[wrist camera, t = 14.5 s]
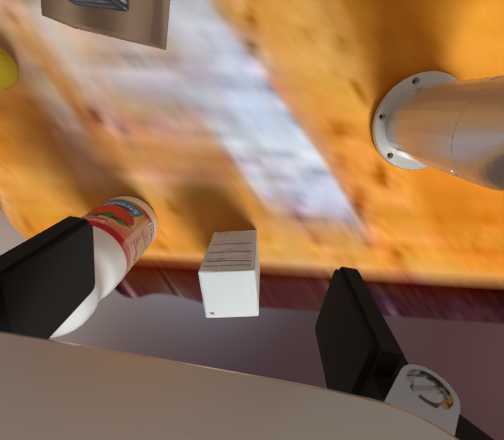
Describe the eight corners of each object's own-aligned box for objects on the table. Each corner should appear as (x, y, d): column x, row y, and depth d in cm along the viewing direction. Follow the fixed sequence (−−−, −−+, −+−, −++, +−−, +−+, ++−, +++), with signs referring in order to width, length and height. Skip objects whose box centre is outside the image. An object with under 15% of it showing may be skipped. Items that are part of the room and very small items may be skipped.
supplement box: (260, 267, 49) (259, 318, 37) (218, 268, 49) (204, 319, 38) (258, 228, 46) (256, 270, 34) (213, 230, 47) (196, 272, 35)
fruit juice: (115, 251, 49) (-52, 417, 23) (93, 200, 45) (-134, 328, 19) (167, 241, 48) (53, 404, 22) (148, 189, 44) (-15, 308, 18)
